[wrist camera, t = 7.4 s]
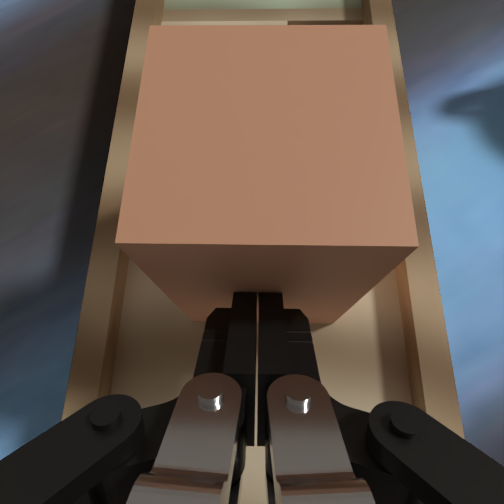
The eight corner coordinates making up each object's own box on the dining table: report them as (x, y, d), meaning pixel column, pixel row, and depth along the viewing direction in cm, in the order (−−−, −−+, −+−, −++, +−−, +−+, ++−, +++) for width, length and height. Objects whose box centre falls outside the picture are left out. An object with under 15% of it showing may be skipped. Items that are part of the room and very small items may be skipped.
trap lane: (433, 520, 15) (510, 578, 11) (88, 512, 16) (14, 565, 11) (355, -68, 29) (374, -158, 24) (170, -66, 29) (153, -154, 24)
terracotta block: (333, 323, 16) (419, 246, 7) (192, 321, 16) (115, 242, 7) (325, 198, 18) (386, 24, 9) (201, 197, 18) (150, 25, 9)
